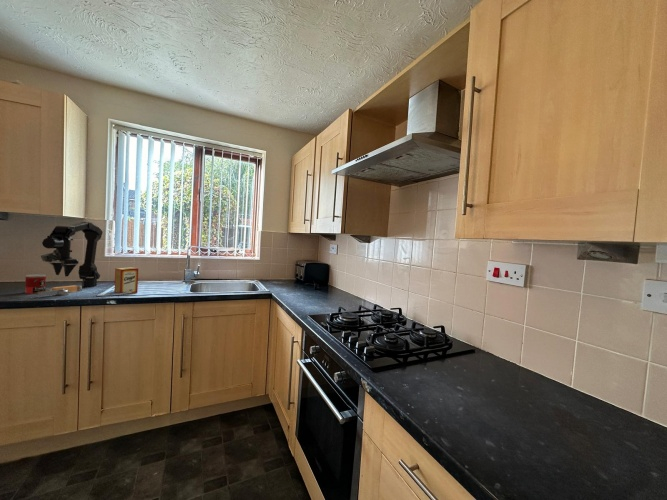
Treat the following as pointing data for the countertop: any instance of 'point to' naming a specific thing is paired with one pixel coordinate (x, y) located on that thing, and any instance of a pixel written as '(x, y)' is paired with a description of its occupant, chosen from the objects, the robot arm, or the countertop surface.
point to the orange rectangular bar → (66, 288)
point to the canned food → (35, 283)
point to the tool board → (79, 288)
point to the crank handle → (54, 292)
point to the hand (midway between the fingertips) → (61, 275)
